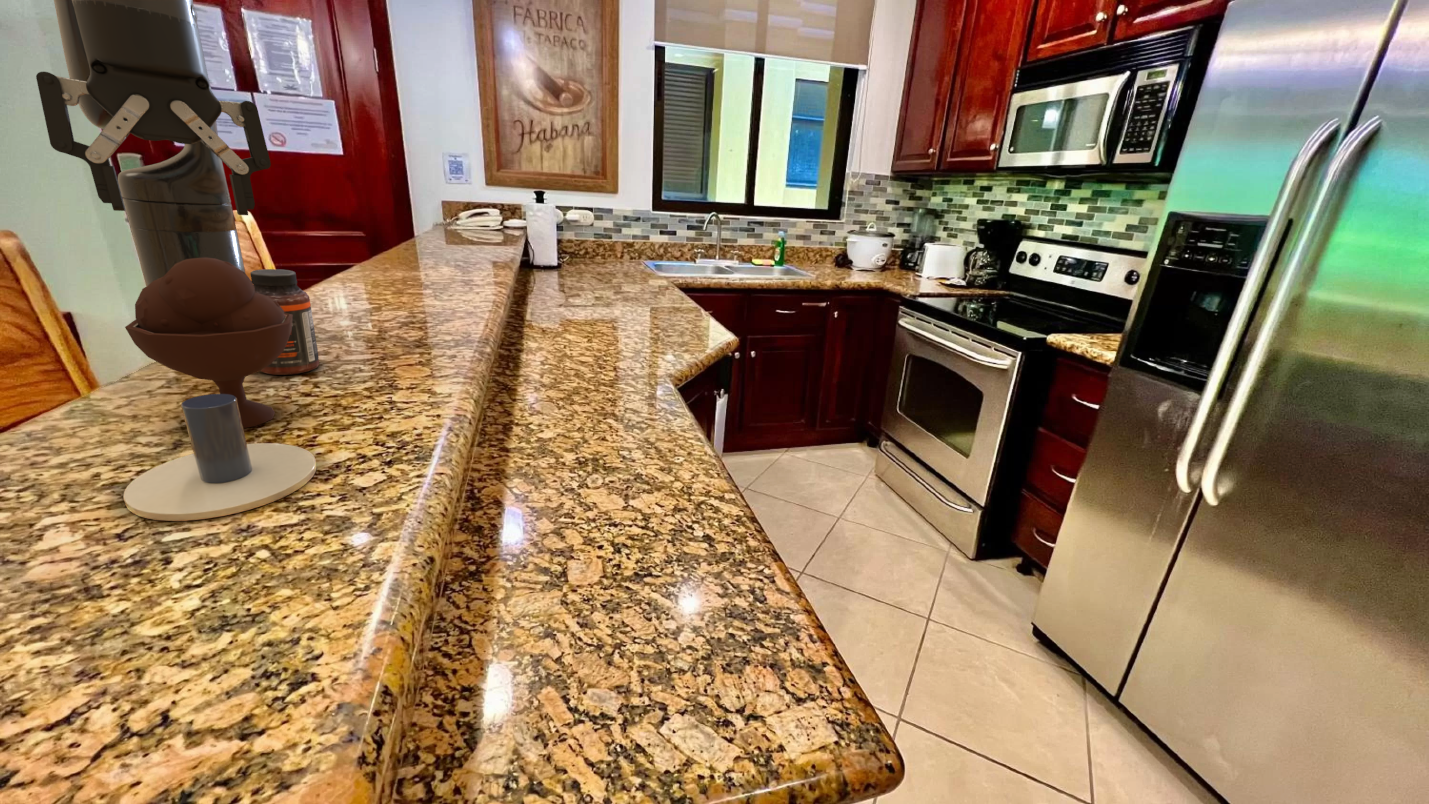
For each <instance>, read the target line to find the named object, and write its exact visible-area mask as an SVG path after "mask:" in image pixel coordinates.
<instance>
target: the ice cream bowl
mask: <svg viewBox="0 0 1429 804" xmlns="http://www.w3.org/2000/svg"><path fill="white" fill-rule="evenodd" d="M251 281H252V280H251V277H249V276H248V275H247V273H246V271H245V272H243V271H242V270H240V269H238V268H237V267H235V266H234V265H233V264H231V263H229V262H224V261H221V260H218V259H214V258H193V259H186V260H183V261H181V262H178V263H176V264H175V265H174V266H173V267H172V268H171V269H170V270H169V271H168V272H167V273H166V274H165V275H164V277H161V278H159V279H157V280H155V281H153V282H152V283H150V284H149V285H148V286H147V287H146V286H145V287H143V288H142V289H141V291H140V293H139V295H138V297H137V299H136V300H135V304H134V310H135V311H134V313H135V314H134V315H135V316H134V317H135V319H134V320H132V321H131V322H130V323H128V324H127V325H126V326H124V328H125V330H126V331H127V333H128V335H129V337H130V339H131V340H132V342H133V343H134V345H135V347H136V348H138V349H139V350H140V351H141V352H142V353H143V354H144V355H145V356H146V357H147V358H148V359H150V360H152V361H154V362H157V363H158V364H161V365H162V366H164V367H166V368H168V369H170V370H173V371H175V372H178V373H181V374H184V375H187V376H189V377H193V378H196V379H199V380H206V381H212V382H213V383H214V384H215V385H216V387H218V391H219V394H229V395H233V396H235V397H236V398H237V403H238V407H239V412H240V416H241V421H242V425H243V429H247V428H252V427H257V426H260V425H262V424H264V423H266V422H269V421H271V420H273V419H274V417H275V414H276V412H275V410H274V408H273V407H272V406H270V405H267V404H263V403H261V402H257V401H254V400H250V399H247V396H246V392H245V389H244V388H245V387H244V385H243V384H244V382H245V378H246V377H248V376H252V375H254V374H256V373H259V372H261V370H262V369H264V368H265V367H267V366H268V365H270V364H272V363H273V362H274V361H275V360H276V358H277V357H278V356H279V355H280V354H281V353H282V352H283V351H284V349H285V346H286V344H287V342H288V339H289V336H290V333H291V331H292V319H293V315H292V314H288V313H285V312H284V310H283V309H282V308H281V307H280V306H279V304H278V303H277V302H276V301H274V300H272V299H270V298H269V297H267V296H266V295H263V294H259V293H256V292H255V287H254V285H253V284H252V282H251Z"/></svg>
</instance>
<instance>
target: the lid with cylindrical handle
mask: <svg viewBox="0 0 1429 804" xmlns="http://www.w3.org/2000/svg"><path fill="white" fill-rule="evenodd" d="M180 407H181V410H182V415H183V418H184V421H185V426H186V430H187V434H188V437H189V441H190V445H191V448H192V451H193V452H192V453H190V454H187V455H186V454H185V455H183V456H180V457H177V458H173V459H171V460H169V461H166V462H163V463H160V464H159V465H157V466H154V467H152V468H150V469H148V470H146V471H145V472H143V473H142V474H140V475H138V476H137V477H136V478H134V479H133V480H132V481H131V482H130V483H129V484H128V485H127V486H126V488H125V489H124V491H123V495H122V498H123V502H124V505H125V508H127V510H128V511H129V512H131V513H132V514H133V515H136V516H138V517H140V518H145V519H148V520H155V521H163V522H165V521H166V522H183V521H184V522H185V521H198V520H205V519H206V520H207V519H213V518H220V517H224V516H225V517H226V516H230V515H235V514H239V513H242V512H246V511H250V510H253V509H257V508H259V507H263V506H265V505H269V504H271V503H273V502H276V501H278V500H280V499H283V498H285V497H287V496H288V495H291V494H293V493H294V492H296V491H298V490H299V489H301V488H302V487H303V486H305V485H307V483H309V481H311V480H312V479H313V477H314V476H315V474H316V471H317V467H318V466H317V460H316V457H315V455H314V454H313V453H312V452H310V450H308V449H306V448H303V447H300V446H297V445H292V444H286V443H273V442H256V443H247V437H246V434H245V430H244V429H245V428H243V425H242V421H241V416H240V412H239V407H238V403H237V398H236V397H235V396H233V395H229V394H220V393H211V394H203V395H198V396H193V397H190V398H188V399H186V400H183V401H182V403H181V405H180Z"/></svg>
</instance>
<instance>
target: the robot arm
mask: <svg viewBox="0 0 1429 804" xmlns="http://www.w3.org/2000/svg"><path fill="white" fill-rule="evenodd" d="M53 3H54V8H55V14H56V19H57V23H58V24H57V25H58V30H59V34H60V40H61V44H62V49H63V54H64V60H65V63H66V68H67V73H68V77H65V76H58V75H56V74H53V73H51V72H49V71H39V72H37V74H36V76H35V79H36V83H37V88H38V92H39V93H38V94H39V97H40V102H41V106H42V111H43V116H44V120H45V125H46V130H47V134H48V139H49V144H50V146H51V147H52V149H53V150H55V151H56V152H59V153H62V154H65V155H69V156H72V157H75V158H78V159H81V160H83V161H84V162H85V163H87V164H88V166H89V168H90V171H91V176H92V179H93V182H94V183H93V184H94V186H95V190H96V193H97V196H98V198H99V200H101V202H102V203H103V204H111V207H112V210H113V211H114V212H115V211H117V212H125V213H126V217H127V221H128V225H129V228H130V230H131V235H132V238H133V242H134V246H135V249H136V253H137V257H138V261H139V266H140V268H141V271H142V276H143V281H144V283H145V287H147V286H148V285H149V284H150V283H152V282H153V281H155V280H157V279H159V278H161V277H164V275H165V274H166V273H167V272H168V271H169V270H170V269H171V268H172V267H173V266H174V265H175V264H176V263H178V262H181V261H183V260H186V259H193V258H214V259H218V260H221V261H224V262H229V263H231V264H233V265H234V266H235V267H237V268H238V269H240V270H242V271H243V272H245V273H246V269H245V264H244V258H243V254H242V249H241V244H240V238H239V234H238V229H237V224H236V221H235V217H234V209H233V205H232V200H231V196H230V192H229V187H228V183H227V178H226V173H225V167H224V165H226V166H227V168H229V169H230V170H231V174H229V179H230V184H231V189H232V194H233V199H234V205H235V208H236V213H237V215H239V216H249V211H248V210H254V209H255V206H256V202H255V198H254V191H253V186H252V182H251V175H252V174H254V173H255V172H259V171H263V170H268V169H270V168H271V165H272V163H271V159H270V158H271V157H270V154H269V151H268V146H267V141H266V139H265V134H264V130H263V126H262V122H261V118H260V114H259V110H258V107H257V105H256V104H255V103H254V102H252V101H250V100H244V101H242V102H240V101H239V102H238V101H227V100H219V99H218V98H217V97H216V95H215V94H214V92H213V90H212V86H211V82H210V78H209V74H208V70H207V64H206V58H205V55H204V49H203V45H202V39H201V35H200V29H199V24H198V13H197V9H196V8H195V5H194V0H53ZM76 106H79V108H80V110H81V112H82V113H83V115H84V116H85V118H86V119H87V120H88V121H89V122H90V123H91V124H92V125H93V126H95V127H97V128H99V129H101V131H100V133H99V134H98V135H97V137H96V138H95V139H94V140H93V141H92V143H90V144H89V145H87V144H85V143H81V142H78V141H75V138H74V133H73V129H72V128H73V127H72V123H71V119H70V113H69V109H68V107H76ZM222 113H224V114H226V115H228V117H230V118H231V121H232V123H233V124H234V125H236V126H237V127H241V128H243V131H244V135H245V136H244V137H245V140H246V143H247V147H248V151H249V156H250V157H247V158H243V159H242V158H240V156H239V155H237V153H235V151H234V150H232V148H231V147H230V146H229V144H227V143H226V142H225V141H224V140H223V139H222V138H221V137H220V136H219V133H218V125H217V120H218V119H219V117H220V116H221V114H222ZM130 134H131V135H133V136H134V137H136V138H139V139H142V140H144V141H151V142H152V141H153V142H159V141H170V142H174V143H176V144H181V145H184V146H183V148H182V149H181V150H180V151H179V152H178V153H177V154H175V155H174V156H172V157H170V158H168V159H166V160H163V161H160V162H157V163H153V164H149V165H143V166H138V167H132V168H128V169H124V170H122V171H121V172H119V173H118V174H117V172H116V169H115V165H111V161H110V158H111V157H112V156H113V155H114V153H115V152H116V151H117V149H118V148H119V147H120V146H121V145H122V144H123V143H124V142H125V140H126V139H127V138H128V137H129V135H130ZM223 163H224V164H223Z"/></svg>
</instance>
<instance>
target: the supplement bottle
mask: <svg viewBox="0 0 1429 804" xmlns="http://www.w3.org/2000/svg"><path fill="white" fill-rule="evenodd" d="M250 280H251V282H252V284H253V285H254V287H255V292H256V293H259V294H263V295H266V296H267V297H269V298H270V299H272V300H274V301H276V302H277V303H278V304H279V306H280V307H281V308H282V309H283V310H284V312H285V313H288V314H292V315H293V319H292V331H291V333H290V336H289V339H288V342H287V344H286V346H285V349H284V351H283V352H282V353H281V354H280V355H279V356H278V357H277V358H276V360H275V361H274V362H273V363H272V364H270V365H268V366H267V367H265V368H264V369H262V370H261V371H260V372H261V373H264V374H266V375H267V374H268V375H273V376H288V375H299V374H304V373H307V372H310V371H313V370H315V369H317V368H318V367H319V365H320V356H319V351H318V350H319V349H318V344H317V337H316V331H315V325H314V318H313V310H312V306H311V298H310V296H309V294H308V293H307V292H306V291H304V290H302V289H301V288H300V287H299V286H298V281H297V274H296V272H295V271H293V270H289V269H279V268H277V269H275V268H265V269H264V268H263V269H255V270H252V271H250Z"/></svg>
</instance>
